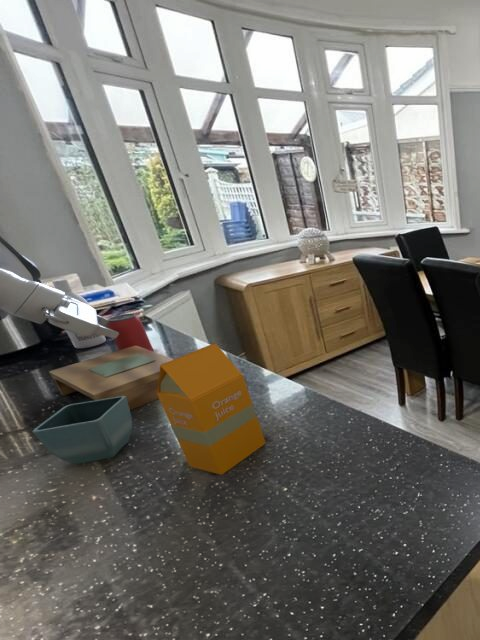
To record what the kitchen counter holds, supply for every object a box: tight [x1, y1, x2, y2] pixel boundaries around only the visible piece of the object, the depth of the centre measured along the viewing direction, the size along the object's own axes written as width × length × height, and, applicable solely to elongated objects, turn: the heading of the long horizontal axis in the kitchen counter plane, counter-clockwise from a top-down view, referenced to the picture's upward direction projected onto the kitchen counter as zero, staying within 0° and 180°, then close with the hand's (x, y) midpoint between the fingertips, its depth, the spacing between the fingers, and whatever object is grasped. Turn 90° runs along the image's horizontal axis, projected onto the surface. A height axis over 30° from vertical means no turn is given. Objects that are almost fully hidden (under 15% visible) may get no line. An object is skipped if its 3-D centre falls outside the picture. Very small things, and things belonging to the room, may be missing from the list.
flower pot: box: [31, 396, 133, 465], centre depth 69 cm, size 9×9×9 cm
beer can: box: [107, 313, 155, 352], centre depth 107 cm, size 7×7×12 cm
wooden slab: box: [48, 346, 175, 411], centre depth 91 cm, size 16×24×6 cm, turn 62°
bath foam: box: [51, 278, 107, 349], centre depth 115 cm, size 7×7×20 cm
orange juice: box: [157, 342, 267, 476], centre depth 66 cm, size 8×9×20 cm
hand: (116, 331), depth 104 cm, fingers open, 8 cm apart
